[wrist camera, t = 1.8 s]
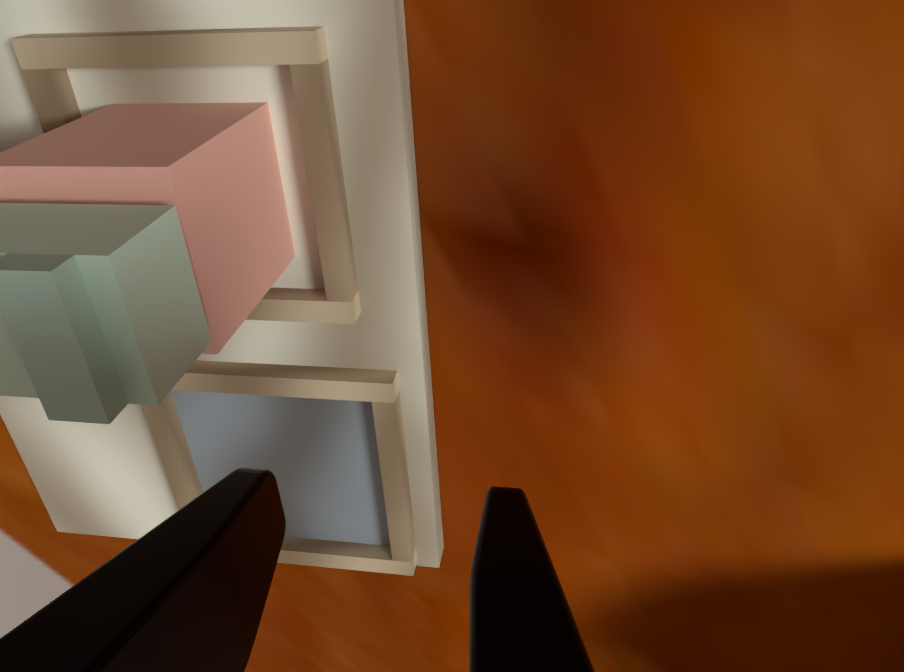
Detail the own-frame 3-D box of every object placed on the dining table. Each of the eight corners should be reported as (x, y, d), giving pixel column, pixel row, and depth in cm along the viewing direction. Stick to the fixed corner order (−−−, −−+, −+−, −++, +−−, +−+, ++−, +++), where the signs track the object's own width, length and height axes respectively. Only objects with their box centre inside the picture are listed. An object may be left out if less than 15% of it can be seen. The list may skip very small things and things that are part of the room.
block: (267, 102, 17) (167, 166, 13) (295, 256, 19) (217, 354, 15) (112, 103, 18) (-31, 165, 14) (156, 253, 20) (44, 346, 16)
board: (400, -39, 16) (292, -3, 10) (443, 546, 26) (403, 739, 20) (-172, -16, 18) (-539, 25, 12) (72, 512, 29) (-63, 676, 23)
